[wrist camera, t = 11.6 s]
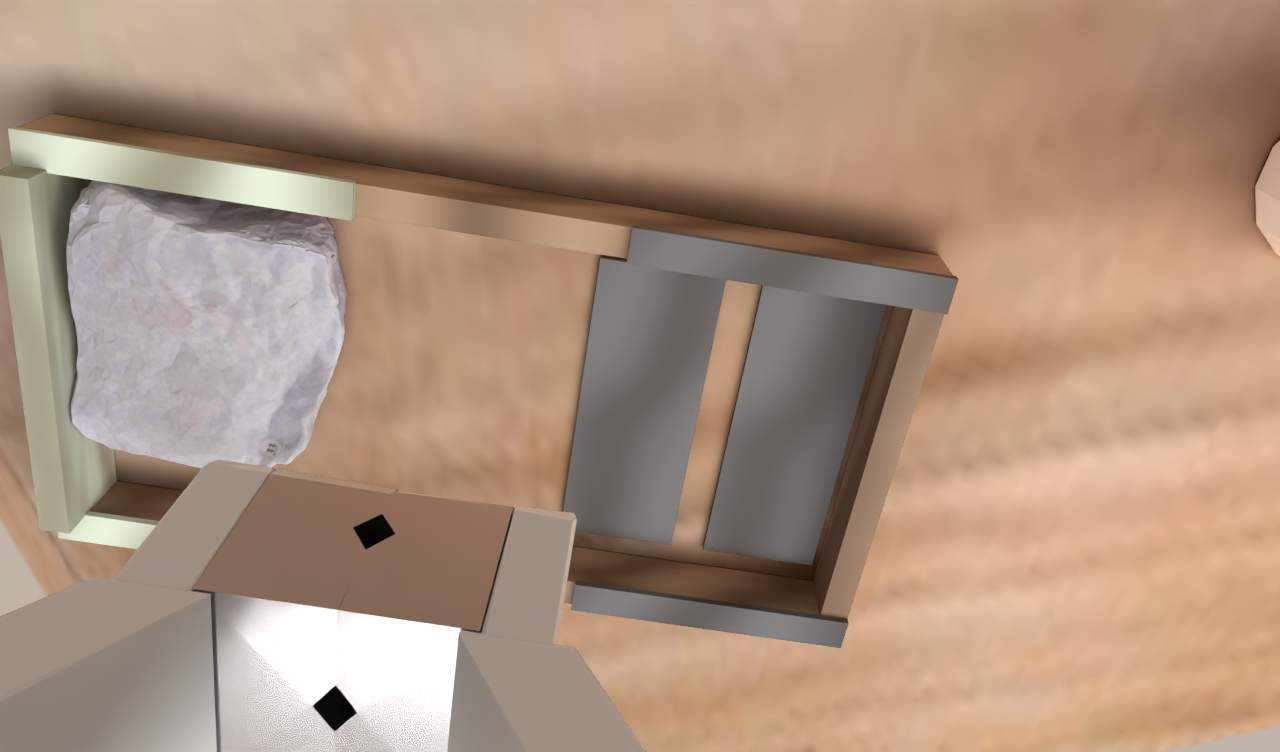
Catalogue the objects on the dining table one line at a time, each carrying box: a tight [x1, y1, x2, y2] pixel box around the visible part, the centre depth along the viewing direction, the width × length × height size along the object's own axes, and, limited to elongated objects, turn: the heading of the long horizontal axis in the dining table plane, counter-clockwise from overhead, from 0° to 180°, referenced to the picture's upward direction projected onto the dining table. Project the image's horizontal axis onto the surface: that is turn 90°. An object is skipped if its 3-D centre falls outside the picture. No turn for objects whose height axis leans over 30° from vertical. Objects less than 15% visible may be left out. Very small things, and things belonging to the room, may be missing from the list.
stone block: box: [66, 180, 347, 468], centre depth 40 cm, size 12×5×10 cm
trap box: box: [0, 114, 958, 648], centre depth 41 cm, size 34×18×4 cm, turn 81°
